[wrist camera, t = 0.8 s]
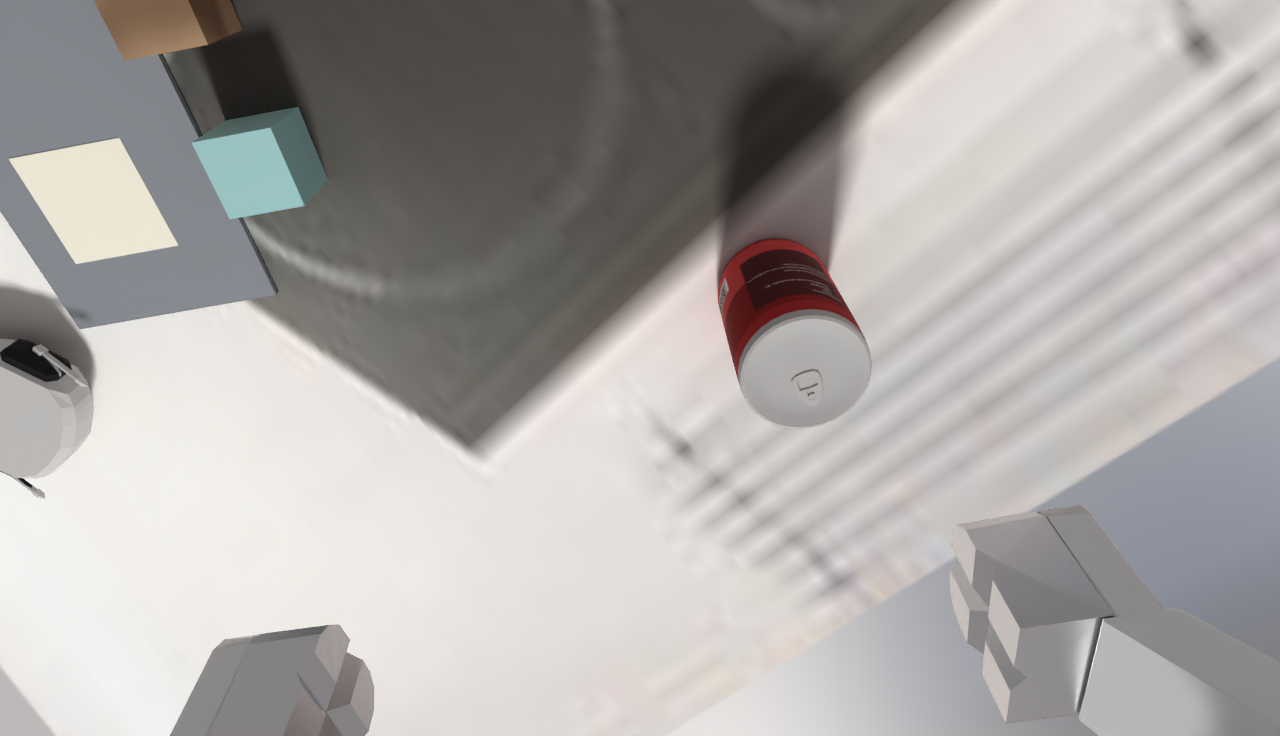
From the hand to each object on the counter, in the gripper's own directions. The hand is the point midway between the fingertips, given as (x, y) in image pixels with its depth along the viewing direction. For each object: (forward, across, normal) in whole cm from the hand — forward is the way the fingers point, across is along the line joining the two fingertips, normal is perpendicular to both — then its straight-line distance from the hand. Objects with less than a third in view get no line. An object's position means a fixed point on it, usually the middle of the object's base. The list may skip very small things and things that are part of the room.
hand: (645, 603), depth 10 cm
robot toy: (+40, +47, +13) cm, 63 cm away
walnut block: (+40, +22, -7) cm, 46 cm away
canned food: (+40, -8, +18) cm, 44 cm away
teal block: (+40, +21, +2) cm, 45 cm away
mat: (+40, +32, +1) cm, 51 cm away
